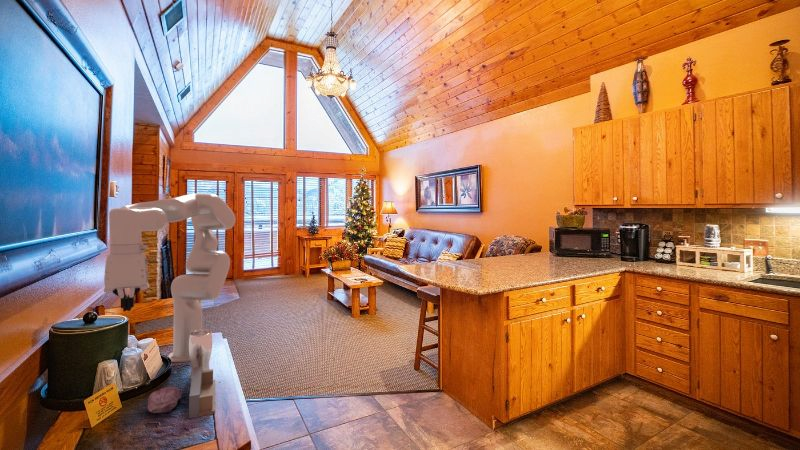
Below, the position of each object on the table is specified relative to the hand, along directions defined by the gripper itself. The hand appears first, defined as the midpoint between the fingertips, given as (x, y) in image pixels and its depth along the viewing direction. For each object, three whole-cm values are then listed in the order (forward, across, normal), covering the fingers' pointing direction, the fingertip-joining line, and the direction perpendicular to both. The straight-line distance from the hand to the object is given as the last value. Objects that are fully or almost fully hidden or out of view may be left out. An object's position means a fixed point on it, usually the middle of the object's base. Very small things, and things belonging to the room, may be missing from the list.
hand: (127, 309), depth 106 cm
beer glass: (+26, -19, -3) cm, 33 cm away
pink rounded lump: (+26, -10, +14) cm, 31 cm away
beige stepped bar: (+26, -20, +14) cm, 35 cm away
